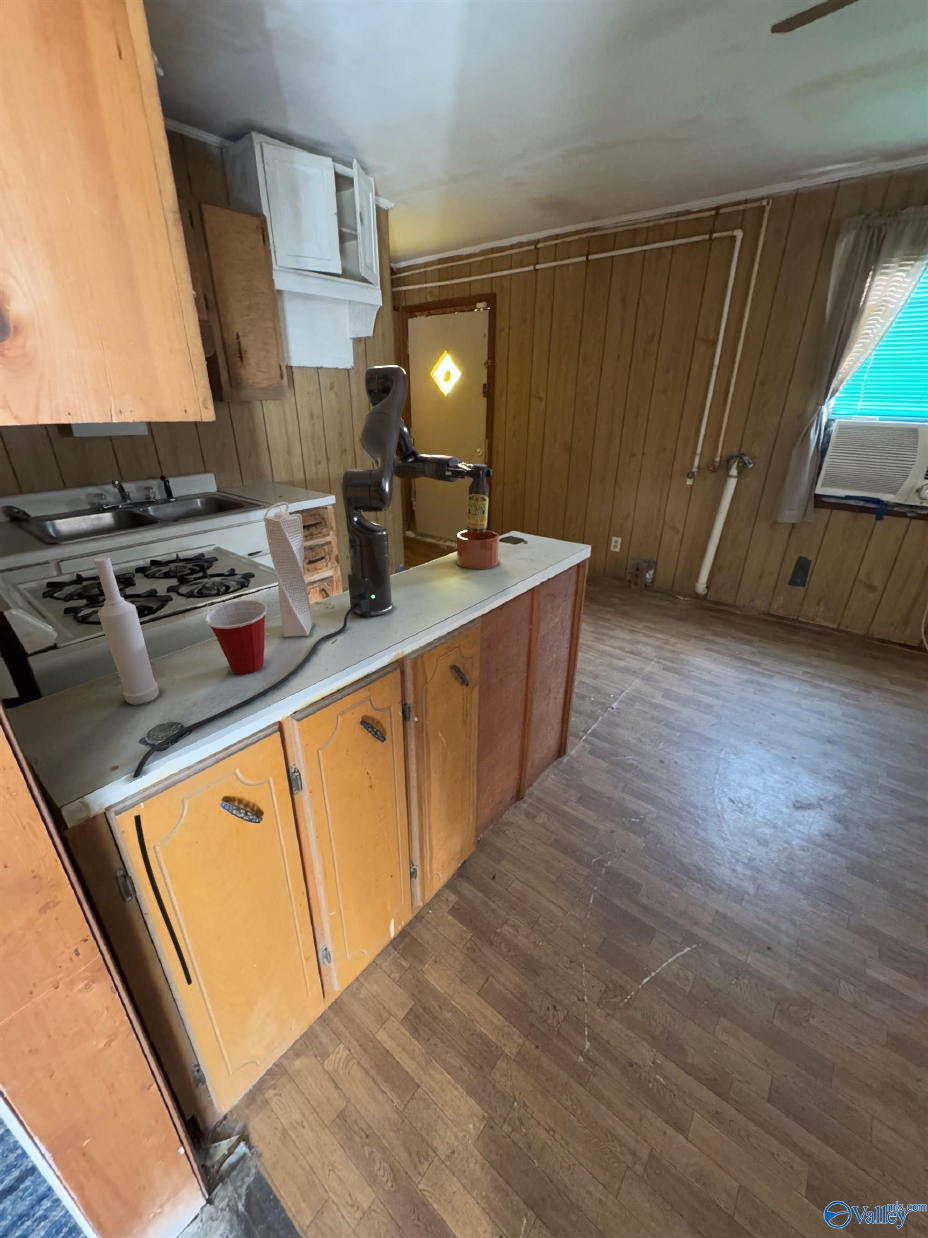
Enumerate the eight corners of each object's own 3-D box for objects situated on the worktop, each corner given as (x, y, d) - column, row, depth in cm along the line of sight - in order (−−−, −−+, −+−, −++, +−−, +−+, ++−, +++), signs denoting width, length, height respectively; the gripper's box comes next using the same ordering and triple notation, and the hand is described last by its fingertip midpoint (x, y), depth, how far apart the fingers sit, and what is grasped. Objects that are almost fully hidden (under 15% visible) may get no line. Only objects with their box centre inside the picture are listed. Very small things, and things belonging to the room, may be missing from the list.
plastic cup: (203, 677, 94) (189, 618, 89) (242, 651, 103) (231, 596, 98) (252, 686, 91) (240, 626, 86) (288, 658, 100) (279, 603, 95)
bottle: (123, 708, 84) (77, 565, 74) (128, 692, 89) (85, 556, 78) (158, 701, 86) (118, 561, 76) (161, 686, 90) (124, 552, 80)
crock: (480, 572, 150) (481, 542, 146) (449, 563, 157) (448, 535, 154) (506, 562, 159) (507, 534, 155) (474, 554, 166) (475, 527, 163)
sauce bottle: (464, 533, 152) (465, 465, 143) (468, 528, 157) (468, 462, 149) (486, 535, 151) (488, 466, 142) (488, 529, 156) (490, 463, 148)
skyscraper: (285, 623, 115) (267, 501, 104) (318, 622, 116) (303, 500, 105) (277, 639, 108) (256, 509, 97) (313, 637, 109) (296, 508, 97)
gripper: (426, 457, 148) (471, 462, 138) (457, 453, 158) (501, 458, 148) (426, 483, 152) (470, 490, 142) (457, 478, 162) (500, 484, 152)
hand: (486, 474), depth 145 cm, fingers closed on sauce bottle, 4 cm apart
